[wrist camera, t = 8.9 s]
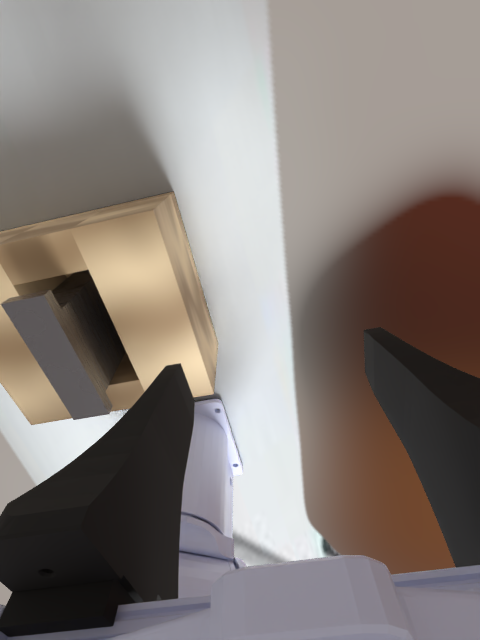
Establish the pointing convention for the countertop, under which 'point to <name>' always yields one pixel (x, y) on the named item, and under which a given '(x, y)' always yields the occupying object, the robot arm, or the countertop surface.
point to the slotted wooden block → (112, 299)
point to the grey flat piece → (71, 341)
